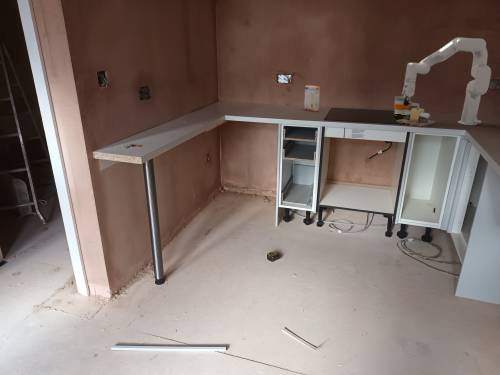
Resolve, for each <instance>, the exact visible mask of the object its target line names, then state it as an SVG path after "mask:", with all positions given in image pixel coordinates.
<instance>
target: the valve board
mask: <svg viewBox="0 0 500 375" xmlns="http://www.w3.org/2000/svg"><path fill="white" fill-rule="evenodd" d="M397 122H398V124H402V123H405V124H404V125H407V124H410V125H409V126H412V125H415V126H414V127H417V126H420V127H419V128H422V127H421V126H423V127H427V126H431V125H434V124H436V121H435V120H431V119H430V120H429V119H425V118H421V121H420V122H414V121H410V116H408V115H406V116H404V118H403V119H402V118H401V119H396V122H395V123H397Z"/></svg>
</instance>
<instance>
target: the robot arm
mask: <svg viewBox="0 0 500 375" xmlns="http://www.w3.org/2000/svg"><path fill="white" fill-rule="evenodd" d="M457 52H470V53H472V55H473V58H472V66H471V71H470V75H471V77H473V78H474V79H473V80H471V81H469V82H468V83H467V85H466V88H465V90H466V91H465V99H464V103H463V109H462V113H461V118H460V120H458V121H457V123H458V124H460V125H465V126H477V125H478V124H481V123H482V120H480V119H478V117H477V115H478V111H479V106H480V102H481V96H482V95H484V94H486V93H487V91H488V89H489V86H490V82H491V81H490V80H491V76H492V68H490V66H489V65H487V64H488V63H487V62H488V50H487V42H486V40H485V39H483V38H478V37H477V38H470V37H455V38H453V39H452V40H451V41H449V42H448V43H446V44H445V45H444V46H443V47H441V48H440V49H438V50H437V51H435V52H433V53H431V54H430V55H428V56H427V57H425V58H423V59H422V60H421V61H420V62H408V63H407V64H406V71H405V74H404V75H405V76H404V83H403V84H404V85H403V88H402V92H401V96H403V98H404V103H403V105H404V106H408V104H409V100H410V97H411V98H412V97H413V96H414V95H415V90H416V81H417V74H421V75H426V74H428V73H429V72H430V70H431V67H432V66H434V65H436V64H438V63H442V62H444V61H446V60H447V59H449V58H451V57H452V56H453V55H455V54H456V53H457Z"/></svg>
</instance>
